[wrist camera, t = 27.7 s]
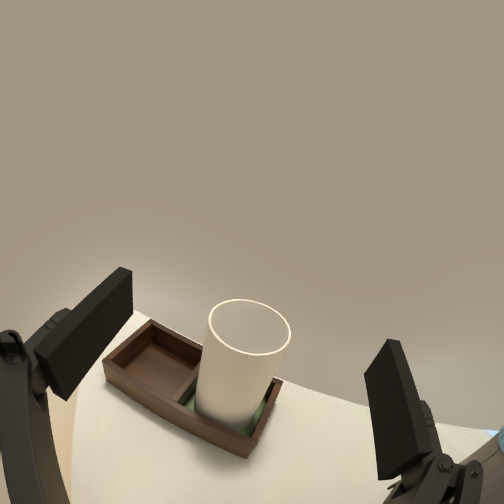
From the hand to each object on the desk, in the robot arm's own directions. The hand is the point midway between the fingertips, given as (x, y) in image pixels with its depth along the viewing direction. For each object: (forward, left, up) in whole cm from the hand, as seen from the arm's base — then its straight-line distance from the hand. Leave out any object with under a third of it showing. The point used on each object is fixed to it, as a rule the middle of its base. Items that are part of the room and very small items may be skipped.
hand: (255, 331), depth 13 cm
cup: (+10, -4, -25) cm, 27 cm away
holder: (+13, 0, -25) cm, 29 cm away
